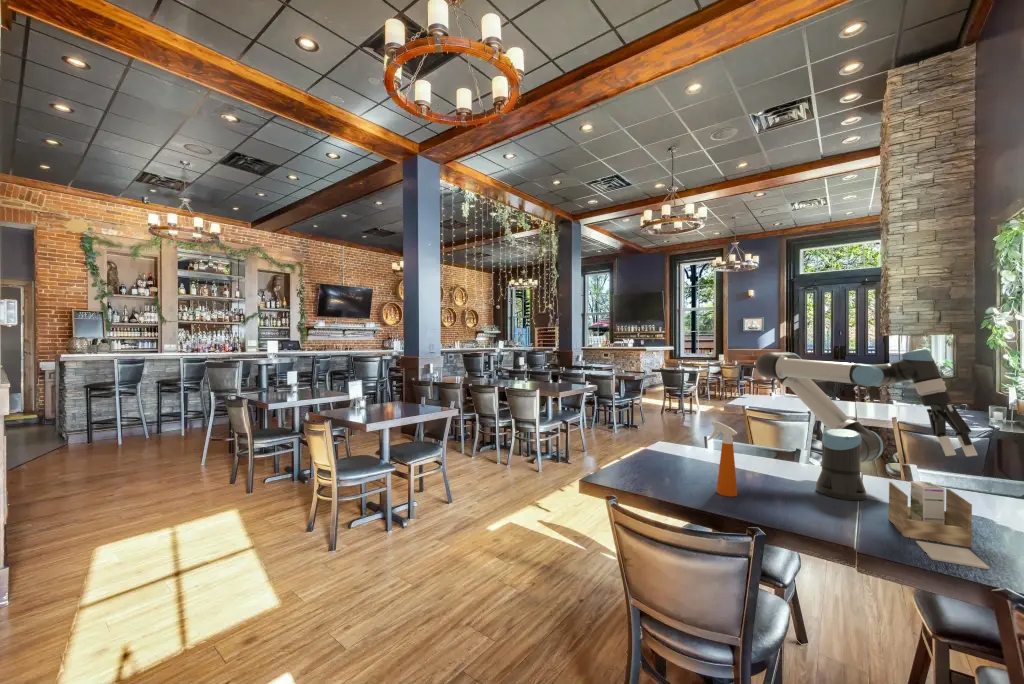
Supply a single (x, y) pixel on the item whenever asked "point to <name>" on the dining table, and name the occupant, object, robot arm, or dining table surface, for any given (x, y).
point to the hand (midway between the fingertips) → (961, 455)
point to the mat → (951, 554)
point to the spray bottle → (726, 461)
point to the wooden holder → (950, 533)
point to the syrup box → (927, 502)
